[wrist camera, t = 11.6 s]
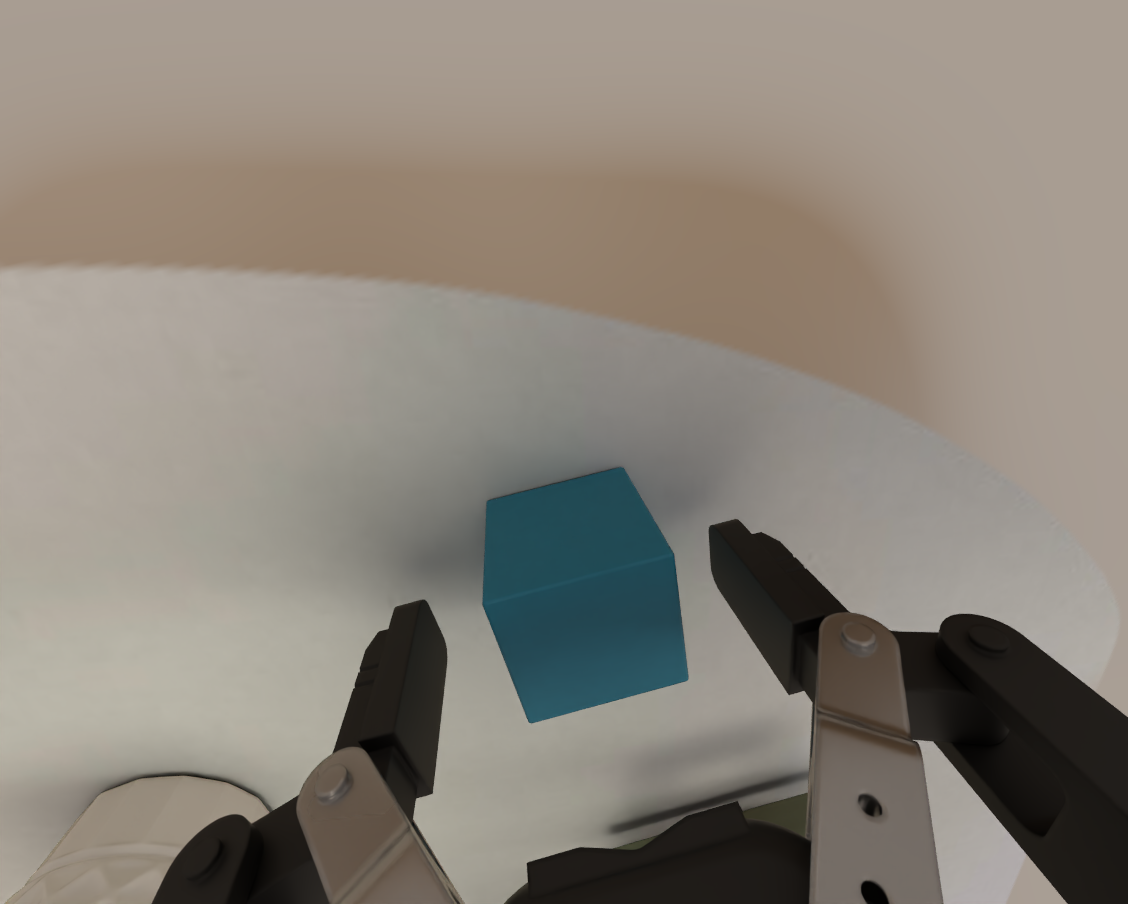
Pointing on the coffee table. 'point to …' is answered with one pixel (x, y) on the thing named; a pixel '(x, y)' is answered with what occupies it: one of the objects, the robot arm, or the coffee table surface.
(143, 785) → the white cup
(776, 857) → the robot arm
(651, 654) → the blue block
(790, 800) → the drawer
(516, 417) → the coffee table surface
